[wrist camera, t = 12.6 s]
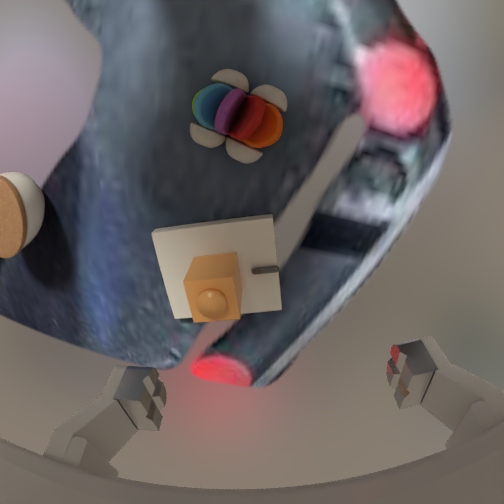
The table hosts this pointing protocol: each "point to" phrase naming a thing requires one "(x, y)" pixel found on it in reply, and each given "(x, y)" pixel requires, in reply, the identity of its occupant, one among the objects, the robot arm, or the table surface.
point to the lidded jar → (19, 212)
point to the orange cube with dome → (214, 288)
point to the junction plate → (219, 242)
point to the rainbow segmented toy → (237, 115)
